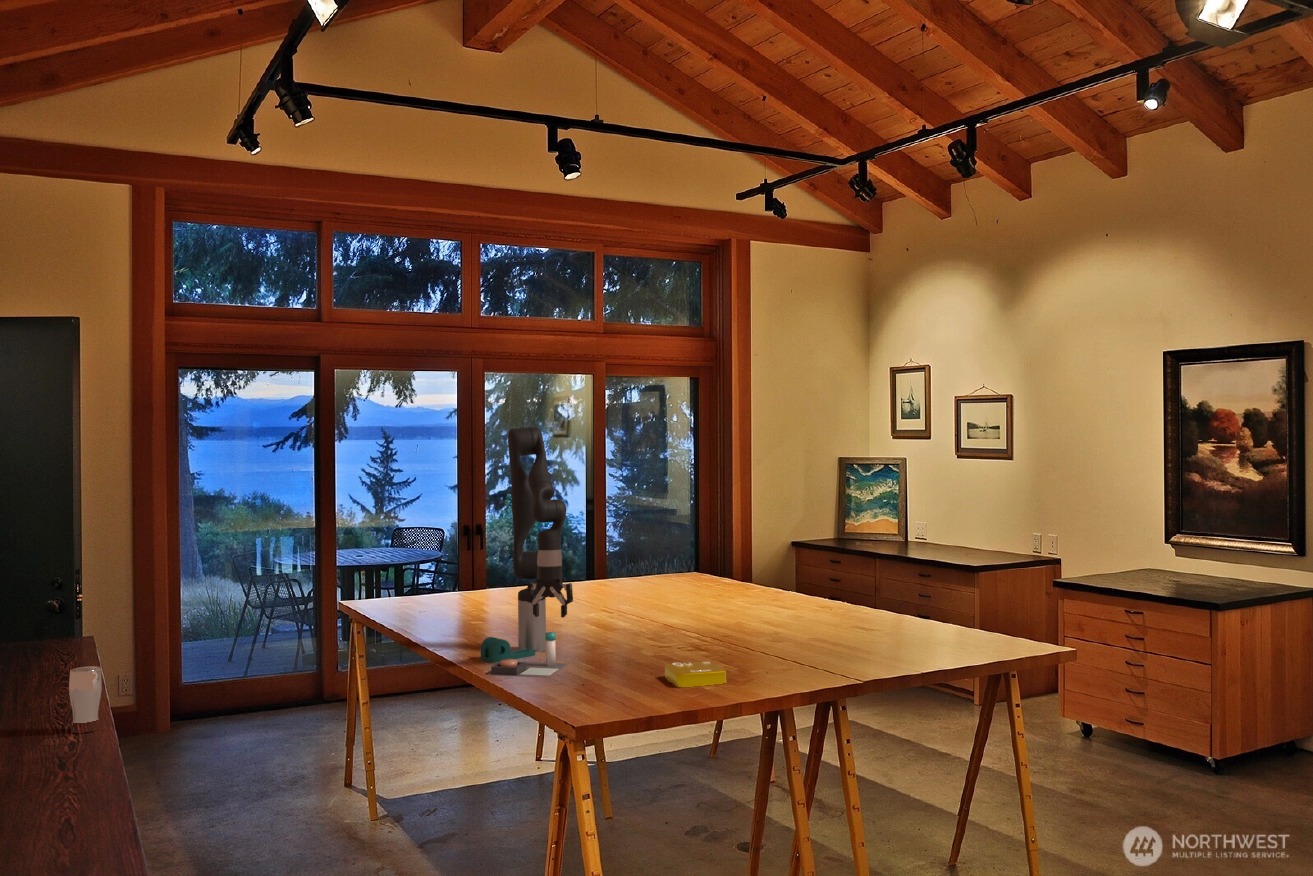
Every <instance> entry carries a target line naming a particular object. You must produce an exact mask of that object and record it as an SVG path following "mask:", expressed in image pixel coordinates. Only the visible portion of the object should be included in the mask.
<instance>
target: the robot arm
mask: <svg viewBox="0 0 1313 876" xmlns="http://www.w3.org/2000/svg"><path fill="white" fill-rule="evenodd" d="M544 442H545V441H544V438H543V434H542V431H541V430H540V428H539V427H537V426H527V427H514V428H510V429H509V430H508V435H507V448H508V449H507V451H508V457H509V467H510V481H511V482H510V484H511V486H510V487H511V497H510V498H511V514H512V527H513V528H512V529H513V542H512V543H513V545H512V546H513V549H512V567H513V568H512V571H513V575H514V578H515V579H516V580H517V579H518V580H535V582H529V583H527V587H526V588H523V589H521V590H519V591H518V593H517V622H518V623H517V625H518V627H517V631H518V634H517V635H518V636H517V640H518V641H517V646H518V647H517V648H518V649H517V650H520V649H533V650H535V653H544V652H546V651H545V650H546V640H545V633H547V617H546V616H547V615H546V614H547V613H546V610H547V607H546V605H547V603H546V598H556V600H557V601H558V602H559V603H560V604H561V605H560V617H561V618H565V617H566V616H567V615H568V605H569V604H570V603H573V601H574V596H573V595H574V594H573V583H572V582H569V583H563V572H562V571H563V570H562V568H563V561H562V560H563V559H562V558H563V556H562V555H563V554H562V548H561V547H562V544H561V543H562V531H563V527H564V523H565V520H566V516H567V505H566V503H565V501H563V499H559V498H557V499H553V498H554V496H555V487H554V485H553V482H552V479H551V476H550V473H549V469H548V461H547V454H546V447H545V443H544ZM534 455H535V459H534V462H533V465H532V466H531V468H530V470H529V473H528V475H527V473H526V471H525V470H524V468H523V465H522V462H521V457H523V456H534ZM536 522H537V523H541V524H543V523H552V524H551V526H550V527H549V528H547V529H544V530H540V531H539V532H538V534H537V551H534V550H533V551H524V546H525V542H526V539H527V538H528V535H529V534H530V531H532V528H533V527H534V525H535V524H536ZM563 589H564V591H565V593H566V597H565V596H564V594H563V592H562V590H563Z"/></svg>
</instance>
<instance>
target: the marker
mask: <svg viewBox="0 0 1313 876" xmlns="http://www.w3.org/2000/svg"><path fill="white" fill-rule="evenodd" d="M545 640H546V651H545V663H546V666H548V667H553V666H556V663H557V662H556V660H557V658H556V657H557V656H556V655H557V654H556V644H557V643H556V640H557V633H556V632H553V631H549V632H546V633H545Z"/></svg>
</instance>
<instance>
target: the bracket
mask: <svg viewBox="0 0 1313 876" xmlns="http://www.w3.org/2000/svg"><path fill="white" fill-rule="evenodd" d="M534 656H536V652H535V650H533V649H520V650H518V649H514V650H511V645H510V643H509V641H508V640H506V639H502V638H497V637H493V636H489V637H486V638H485V639H484V640H483V641H482V643H481V645H480V661H483V662H488V663H489V664H490V663H491V664H497V663H499V662H500V661H501V660H504V659H516V660H520V659H523V658H530V657H534Z"/></svg>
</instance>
